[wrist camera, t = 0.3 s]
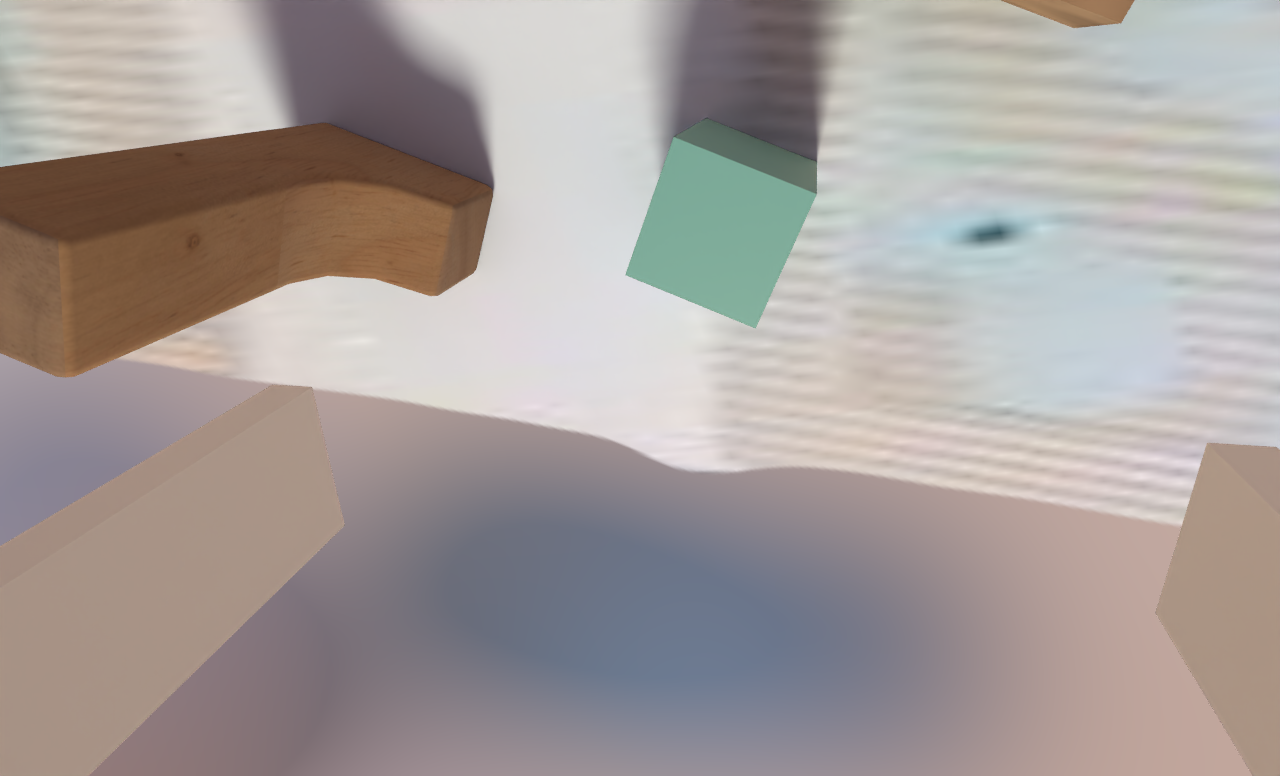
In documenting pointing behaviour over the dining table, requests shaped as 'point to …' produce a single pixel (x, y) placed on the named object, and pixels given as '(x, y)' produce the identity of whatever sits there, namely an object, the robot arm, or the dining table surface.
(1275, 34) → the dining table surface
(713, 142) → the teal block
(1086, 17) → the walnut base block
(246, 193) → the wooden block
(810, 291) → the dining table surface
